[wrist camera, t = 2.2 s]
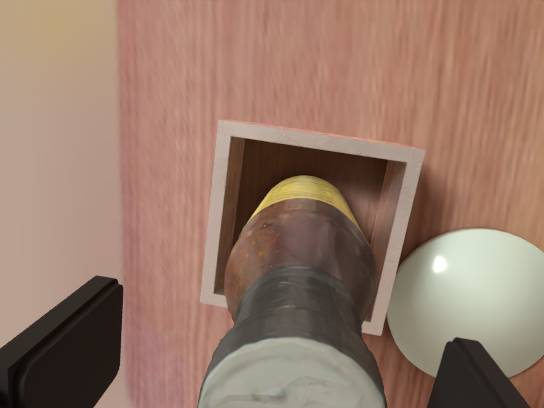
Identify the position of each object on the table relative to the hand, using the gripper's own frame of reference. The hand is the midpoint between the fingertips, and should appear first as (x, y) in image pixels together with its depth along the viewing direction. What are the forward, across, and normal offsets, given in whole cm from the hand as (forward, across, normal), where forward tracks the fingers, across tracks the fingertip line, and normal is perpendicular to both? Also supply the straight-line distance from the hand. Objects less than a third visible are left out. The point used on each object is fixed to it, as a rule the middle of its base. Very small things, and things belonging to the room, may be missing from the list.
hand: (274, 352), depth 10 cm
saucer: (+16, -14, +5) cm, 22 cm away
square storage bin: (+17, -1, 0) cm, 17 cm away
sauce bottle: (+17, -1, 0) cm, 17 cm away
